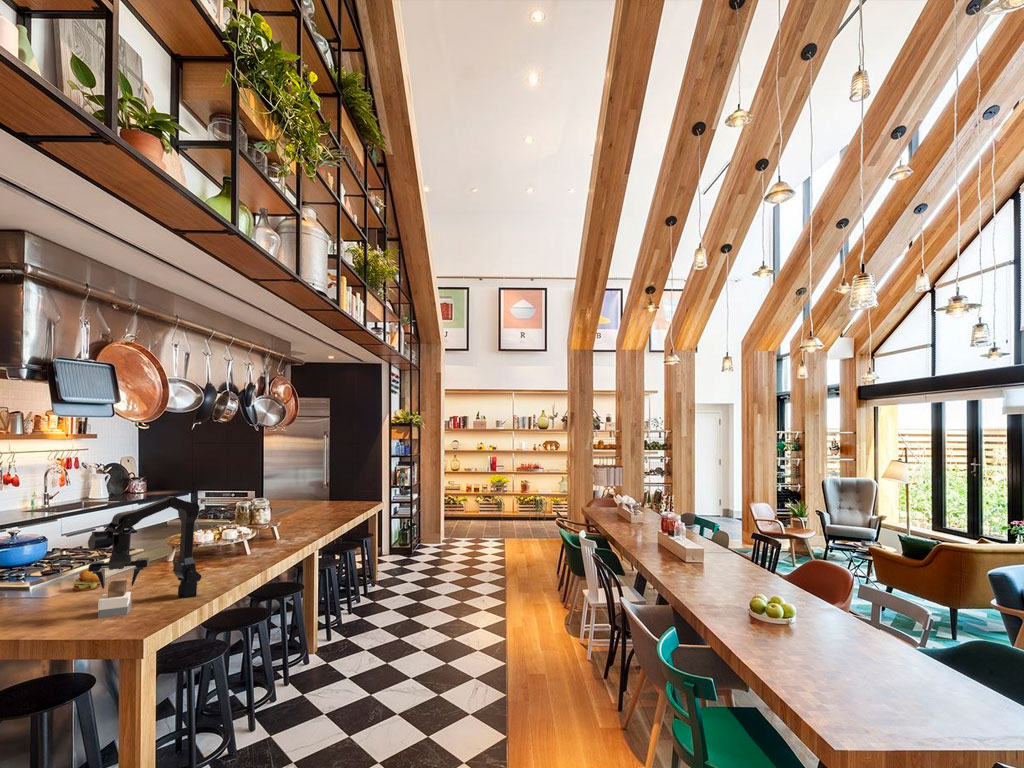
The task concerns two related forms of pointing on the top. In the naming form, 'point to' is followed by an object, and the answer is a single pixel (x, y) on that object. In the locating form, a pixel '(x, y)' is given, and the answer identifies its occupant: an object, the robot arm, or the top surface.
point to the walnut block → (117, 588)
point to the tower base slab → (114, 611)
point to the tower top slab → (113, 601)
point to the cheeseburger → (86, 581)
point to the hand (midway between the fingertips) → (117, 587)
